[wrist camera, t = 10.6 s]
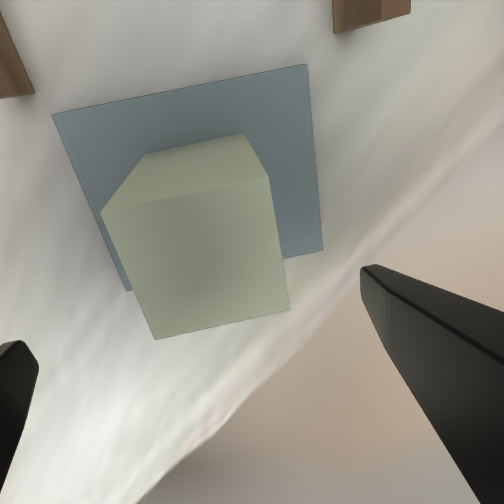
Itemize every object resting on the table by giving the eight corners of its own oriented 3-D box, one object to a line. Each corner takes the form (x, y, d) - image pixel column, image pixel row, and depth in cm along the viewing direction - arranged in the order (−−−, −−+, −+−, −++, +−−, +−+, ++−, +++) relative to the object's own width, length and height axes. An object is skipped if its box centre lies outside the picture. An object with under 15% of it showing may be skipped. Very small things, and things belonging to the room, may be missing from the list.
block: (243, 132, 17) (268, 175, 10) (261, 223, 19) (290, 310, 12) (144, 154, 17) (100, 212, 10) (174, 242, 19) (154, 340, 12)
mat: (304, 63, 16) (307, 63, 16) (320, 246, 21) (323, 250, 21) (55, 113, 16) (51, 114, 16) (127, 286, 21) (126, 291, 21)
